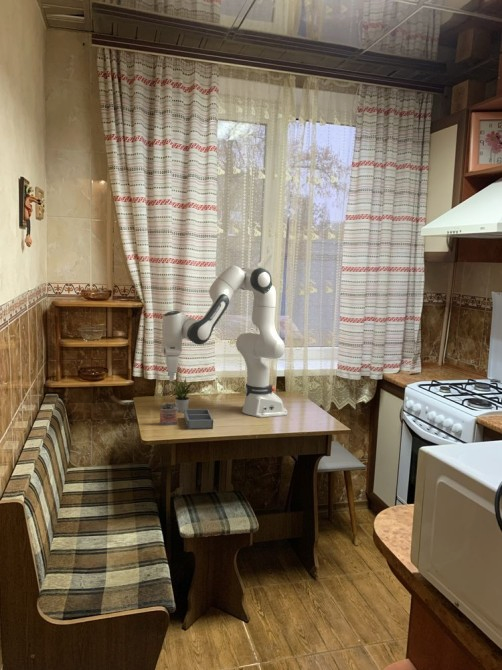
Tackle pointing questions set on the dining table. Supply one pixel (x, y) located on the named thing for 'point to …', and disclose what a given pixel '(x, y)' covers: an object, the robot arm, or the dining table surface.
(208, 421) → the cell holder
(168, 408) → the red grey packet
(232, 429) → the dining table surface
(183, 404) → the house plant
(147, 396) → the dining table surface
